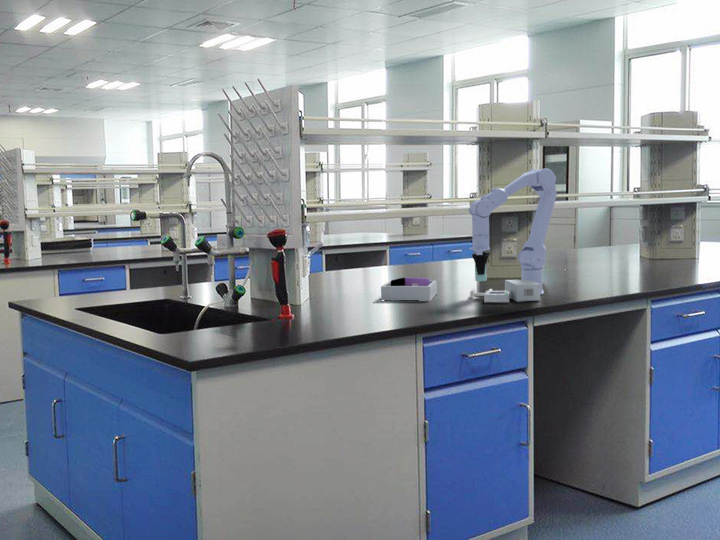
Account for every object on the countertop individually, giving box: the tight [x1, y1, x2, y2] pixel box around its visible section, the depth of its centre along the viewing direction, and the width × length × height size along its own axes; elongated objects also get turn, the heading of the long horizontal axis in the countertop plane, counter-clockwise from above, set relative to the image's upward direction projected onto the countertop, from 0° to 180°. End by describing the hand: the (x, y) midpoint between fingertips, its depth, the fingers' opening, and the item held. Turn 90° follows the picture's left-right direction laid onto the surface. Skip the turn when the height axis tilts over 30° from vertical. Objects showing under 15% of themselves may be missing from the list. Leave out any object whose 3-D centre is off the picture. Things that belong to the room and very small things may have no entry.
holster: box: [469, 288, 494, 299], centre depth 265 cm, size 6×7×2 cm
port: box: [483, 290, 511, 304], centre depth 255 cm, size 10×8×3 cm
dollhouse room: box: [390, 277, 430, 286], centre depth 269 cm, size 12×12×7 cm
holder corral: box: [380, 280, 438, 302], centre depth 269 cm, size 17×17×5 cm
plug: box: [474, 263, 488, 282], centre depth 264 cm, size 4×4×7 cm
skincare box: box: [504, 278, 541, 303], centre depth 259 cm, size 8×6×15 cm
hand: (481, 274), depth 264 cm, fingers closed on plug, 4 cm apart
